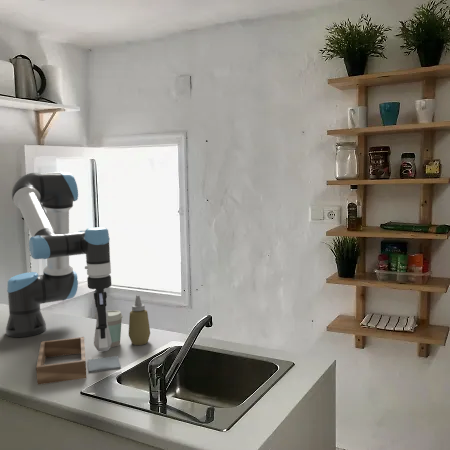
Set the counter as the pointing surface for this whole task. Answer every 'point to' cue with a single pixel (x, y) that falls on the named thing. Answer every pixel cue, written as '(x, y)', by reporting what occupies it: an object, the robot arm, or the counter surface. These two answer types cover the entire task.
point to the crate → (61, 370)
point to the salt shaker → (96, 338)
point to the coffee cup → (114, 326)
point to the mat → (103, 364)
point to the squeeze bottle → (139, 323)
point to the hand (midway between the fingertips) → (102, 343)
